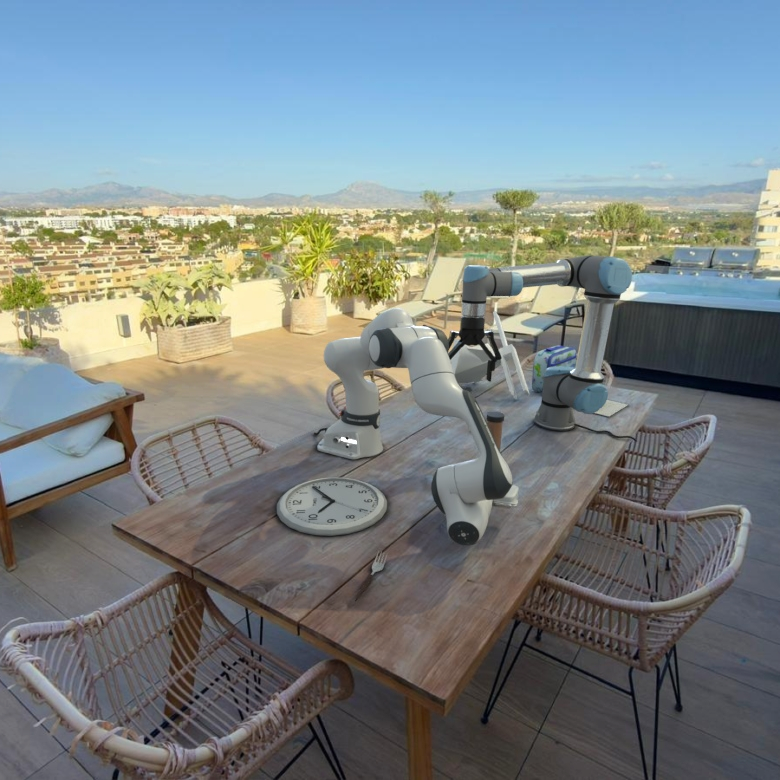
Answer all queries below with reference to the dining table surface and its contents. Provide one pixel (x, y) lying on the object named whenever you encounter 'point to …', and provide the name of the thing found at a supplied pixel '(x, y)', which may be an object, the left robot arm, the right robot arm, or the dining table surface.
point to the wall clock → (331, 506)
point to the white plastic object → (486, 362)
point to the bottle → (496, 431)
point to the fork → (375, 568)
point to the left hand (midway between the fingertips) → (482, 477)
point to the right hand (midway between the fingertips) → (468, 380)
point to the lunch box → (551, 363)
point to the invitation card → (610, 408)
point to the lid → (495, 417)
